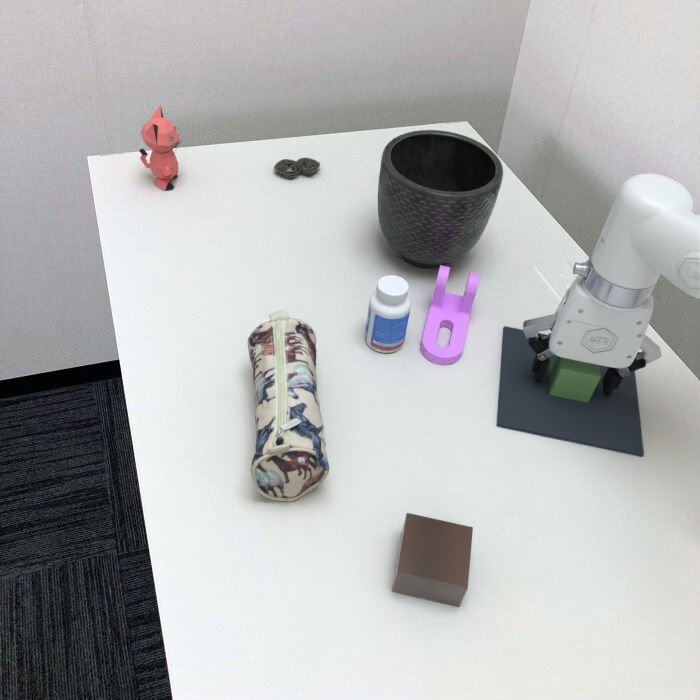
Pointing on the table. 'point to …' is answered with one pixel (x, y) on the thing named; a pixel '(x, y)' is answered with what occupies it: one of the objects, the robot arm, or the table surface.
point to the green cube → (573, 378)
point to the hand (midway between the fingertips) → (571, 381)
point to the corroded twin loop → (296, 167)
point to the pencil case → (286, 409)
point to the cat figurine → (161, 149)
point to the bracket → (448, 319)
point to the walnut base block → (433, 560)
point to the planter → (436, 195)
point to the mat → (565, 404)
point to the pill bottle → (388, 314)
